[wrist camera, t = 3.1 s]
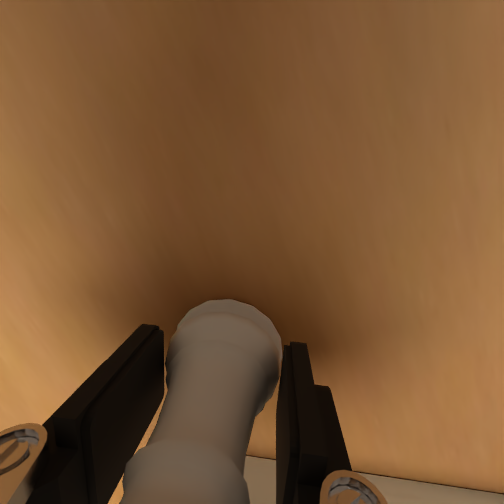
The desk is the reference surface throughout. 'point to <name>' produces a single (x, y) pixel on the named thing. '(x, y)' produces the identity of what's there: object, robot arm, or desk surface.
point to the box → (394, 490)
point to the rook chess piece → (207, 408)
